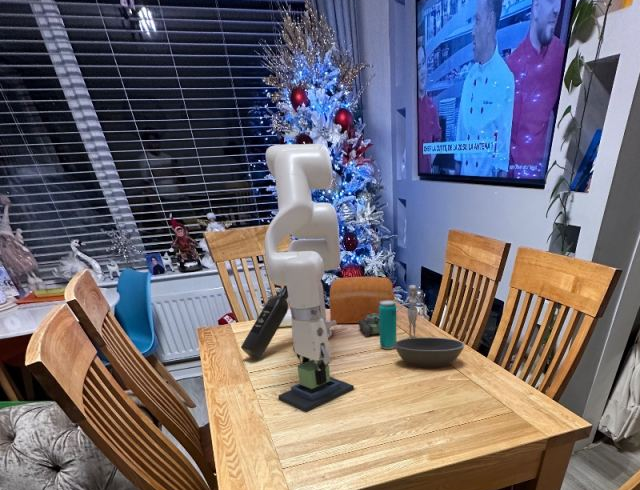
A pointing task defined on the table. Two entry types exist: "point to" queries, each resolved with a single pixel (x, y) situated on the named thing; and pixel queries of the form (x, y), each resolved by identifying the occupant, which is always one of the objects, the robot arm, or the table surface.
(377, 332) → the toy tank
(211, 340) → the table surface
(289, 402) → the black pad
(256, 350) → the wine bottle
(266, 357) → the table surface
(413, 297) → the human figurine
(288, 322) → the earbud case
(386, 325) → the beverage can
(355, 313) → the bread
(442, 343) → the bowl
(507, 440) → the table surface
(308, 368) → the green block
